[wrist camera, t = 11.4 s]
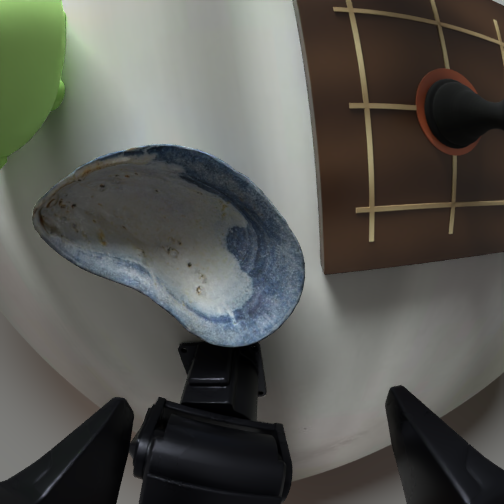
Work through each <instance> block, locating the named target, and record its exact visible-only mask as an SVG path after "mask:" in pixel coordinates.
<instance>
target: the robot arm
mask: <svg viewBox="0 0 504 504" xmlns="http://www.w3.org/2000/svg"><path fill="white" fill-rule="evenodd" d="M251 346H255V347H251ZM183 348H185V349H186V350H185V349H183ZM178 351H179V354H180V357H181V360H182V362H183V365H184V368H185V370H186V373H187V379H186V383H185V386H184V390H183V393H182V397H181V400H180V404H178V403H174V402H171V401H168V400H166V399H165V398H162V397H158V400H157V402H156V404H155V405H154V404H153V405H152V407H151V408H148V411H147V413H146V416H145V419H144V422H143V424H142V426H141V428H140V429H139V431H138V432H137V434H136V435H135V437H134V438H133V440H132V441H131V443H130V440H131V433H132V427H133V420H134V413H133V410H132V409H131V407H130V405H129V404H128V402H127V400H126V399H125V398H121V397H114V398H112V399H111V400H110V401H109V402H108V403H106V404H105V405H104V406H103V407H102V408H100V409H99V410H98V411H97V412H96V413H95V414H93V415H92V416H91V417H90V418H89V419H87V420H86V421H85V422H84V423H83V424H81V425H80V426H79V427H78V428H77V429H75V430H74V431H73V432H72V433H71V434H69V435H68V436H67V437H66V438H64V440H62V441H61V442H60V443H58V444H57V445H56V446H55V447H54V448H53V449H51V450H50V451H49V452H47V453H46V454H45V455H44V456H42V457H41V458H40V459H38V460H37V461H36V462H35V463H33V464H31V465H30V466H28V467H27V468H25V469H24V470H22V471H21V472H19V473H17V474H16V475H14V476H13V477H11V478H9V479H8V480H5V481H2V482H0V504H116V503H117V498H118V494H119V489H120V485H121V481H122V477H123V473H124V468H125V465H126V461H127V457H128V453H130V455H131V456H132V458H133V466H134V471H133V472H134V473H133V474H134V477H137V478H140V479H143V483H142V488H141V494H140V500H139V504H281V503H283V502H284V501H285V499H286V497H287V495H288V493H289V490H290V486H291V481H292V461H291V457H290V453H289V449H288V445H287V441H286V436H285V432H284V428H283V424H279V423H274V424H271V423H265V422H258V421H256V420H257V398H258V397H261V396H265V395H266V383H265V377H264V370H263V363H262V357H261V350H260V344H259V342H256V343H254V344H251V345H248V346H242V347H232V348H230V347H222V346H218V345H214V344H210V343H208V342H195V343H181V344H180V345H179V348H178ZM385 408H386V414H387V420H388V426H389V432H390V438H391V444H392V448H393V452H394V455H395V459H396V463H397V467H398V470H399V473H400V478H401V482H402V486H403V490H404V494H405V498H406V502H407V504H504V470H503V469H501V468H500V467H498V466H497V465H495V464H494V463H492V462H491V461H489V460H488V459H487V458H485V457H484V456H483V455H482V454H480V453H479V452H478V451H477V450H476V449H474V448H473V447H472V446H471V445H468V443H467V442H466V441H465V440H464V439H463V438H462V437H461V436H459V435H458V434H457V433H456V432H455V431H454V430H453V429H451V428H450V427H449V426H448V425H447V424H446V423H445V422H444V421H442V420H441V419H440V418H439V417H438V416H437V415H436V414H434V413H433V412H432V411H431V410H430V409H429V408H428V407H426V406H425V405H424V404H423V403H422V402H421V401H420V400H419V399H417V398H416V397H415V396H414V395H413V394H412V393H411V392H409V391H408V390H407V389H406V388H405V387H404V386H402V385H399V386H394V387H391V388H390V390H389V393H388V396H387V399H386V403H385Z"/></svg>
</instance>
